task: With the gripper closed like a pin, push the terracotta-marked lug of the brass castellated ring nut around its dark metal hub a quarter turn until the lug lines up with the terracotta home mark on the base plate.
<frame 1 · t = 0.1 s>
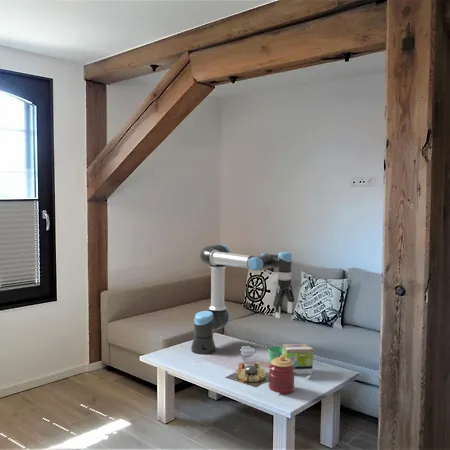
hand: (283, 315, 281), 28 cm above the table, fingers open, 13 cm apart
canister: (281, 389, 246), on the table
mug: (279, 365, 279), on the table
ring nut: (251, 371, 259), point 4 cm above the table, hinge at 0.0°
tea box: (296, 372, 269), on the table
cap plate: (250, 378, 260), on the table
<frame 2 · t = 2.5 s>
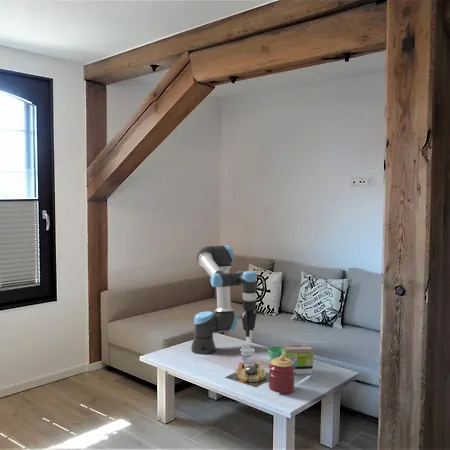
hand: (248, 342, 267), 17 cm above the table, fingers closed
nothing on the table moved.
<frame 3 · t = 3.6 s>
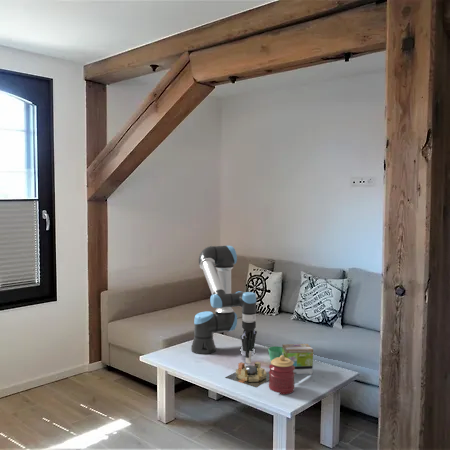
hand: (248, 362, 268), 5 cm above the table, fingers closed
nothing on the table moved.
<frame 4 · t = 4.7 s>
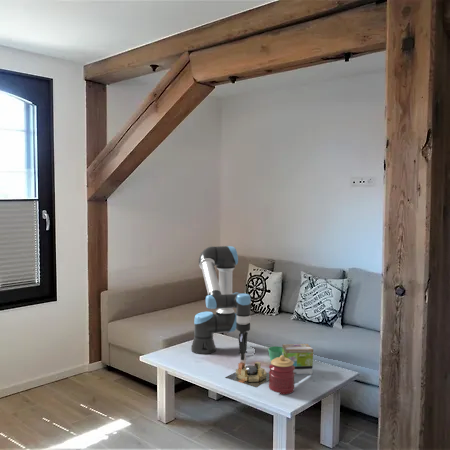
hand: (242, 364, 265), 5 cm above the table, fingers closed
ring nut: (251, 371, 259), point 4 cm above the table, hinge at 0.0°, touching gripper
everything else where it was.
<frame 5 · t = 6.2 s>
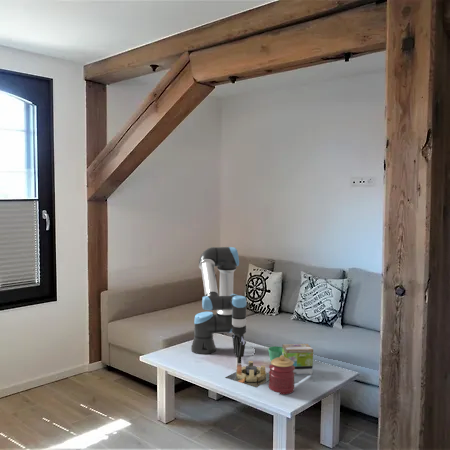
hand: (238, 368, 261), 5 cm above the table, fingers closed
ring nut: (251, 371, 259), point 4 cm above the table, hinge at 36.2°, touching gripper
everything else where it was.
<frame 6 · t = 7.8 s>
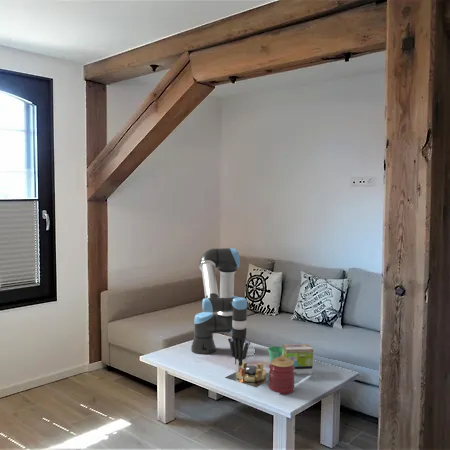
hand: (238, 371, 257), 5 cm above the table, fingers closed
ring nut: (251, 371, 259), point 4 cm above the table, hinge at 73.5°, touching cap plate, gripper
everything else where it was.
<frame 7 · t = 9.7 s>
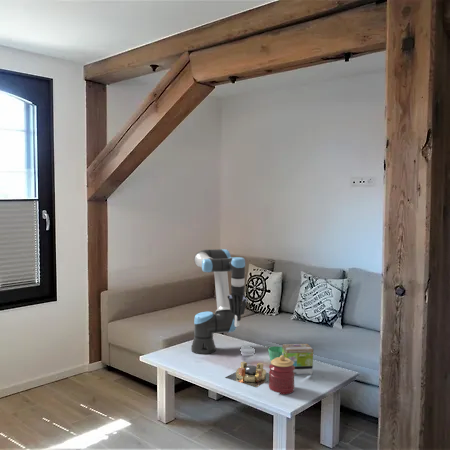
hand: (236, 325, 275), 23 cm above the table, fingers closed
ring nut: (251, 371, 259), point 4 cm above the table, hinge at 73.5°
everything else where it was.
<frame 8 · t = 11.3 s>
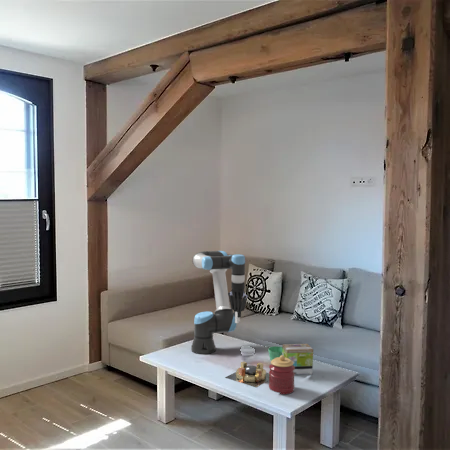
hand: (237, 322, 278), 24 cm above the table, fingers closed
nothing on the table moved.
at the end: ring nut at +74° (first picture: +0°) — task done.
